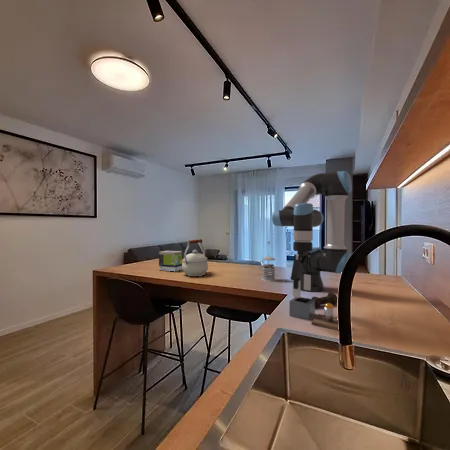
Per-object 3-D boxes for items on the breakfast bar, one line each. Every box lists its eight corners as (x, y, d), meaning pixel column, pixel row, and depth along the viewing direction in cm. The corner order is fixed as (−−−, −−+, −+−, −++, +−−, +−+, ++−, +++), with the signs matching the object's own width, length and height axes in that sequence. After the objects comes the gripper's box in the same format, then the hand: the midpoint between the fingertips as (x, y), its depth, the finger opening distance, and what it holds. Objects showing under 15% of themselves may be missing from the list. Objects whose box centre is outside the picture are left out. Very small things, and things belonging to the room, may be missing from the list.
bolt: (307, 311, 118) (332, 306, 124) (313, 309, 113) (339, 303, 119) (302, 298, 120) (327, 293, 126) (308, 295, 116) (334, 290, 122)
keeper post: (325, 318, 102) (325, 301, 102) (334, 320, 100) (334, 302, 100) (323, 320, 99) (323, 303, 99) (332, 322, 97) (332, 305, 97)
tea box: (182, 270, 204) (182, 251, 204) (174, 272, 195) (174, 252, 195) (166, 268, 210) (166, 250, 210) (158, 270, 201) (158, 251, 201)
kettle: (195, 279, 173) (195, 241, 172) (174, 276, 183) (174, 240, 182) (216, 272, 194) (216, 238, 193) (197, 270, 204) (197, 238, 203)
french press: (271, 282, 164) (272, 242, 164) (255, 279, 171) (255, 241, 171) (278, 279, 172) (279, 241, 171) (263, 277, 179) (263, 240, 178)
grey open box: (296, 310, 114) (296, 296, 114) (314, 313, 109) (315, 299, 109) (289, 315, 107) (289, 301, 107) (309, 319, 103) (309, 304, 103)
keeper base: (318, 316, 107) (318, 313, 107) (345, 321, 101) (345, 319, 101) (311, 324, 98) (311, 321, 98) (340, 330, 93) (340, 328, 93)
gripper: (303, 239, 120) (302, 286, 120) (282, 242, 99) (281, 298, 100) (320, 240, 116) (319, 288, 116) (302, 243, 95) (301, 302, 95)
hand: (302, 293), depth 108 cm, fingers open, 13 cm apart
